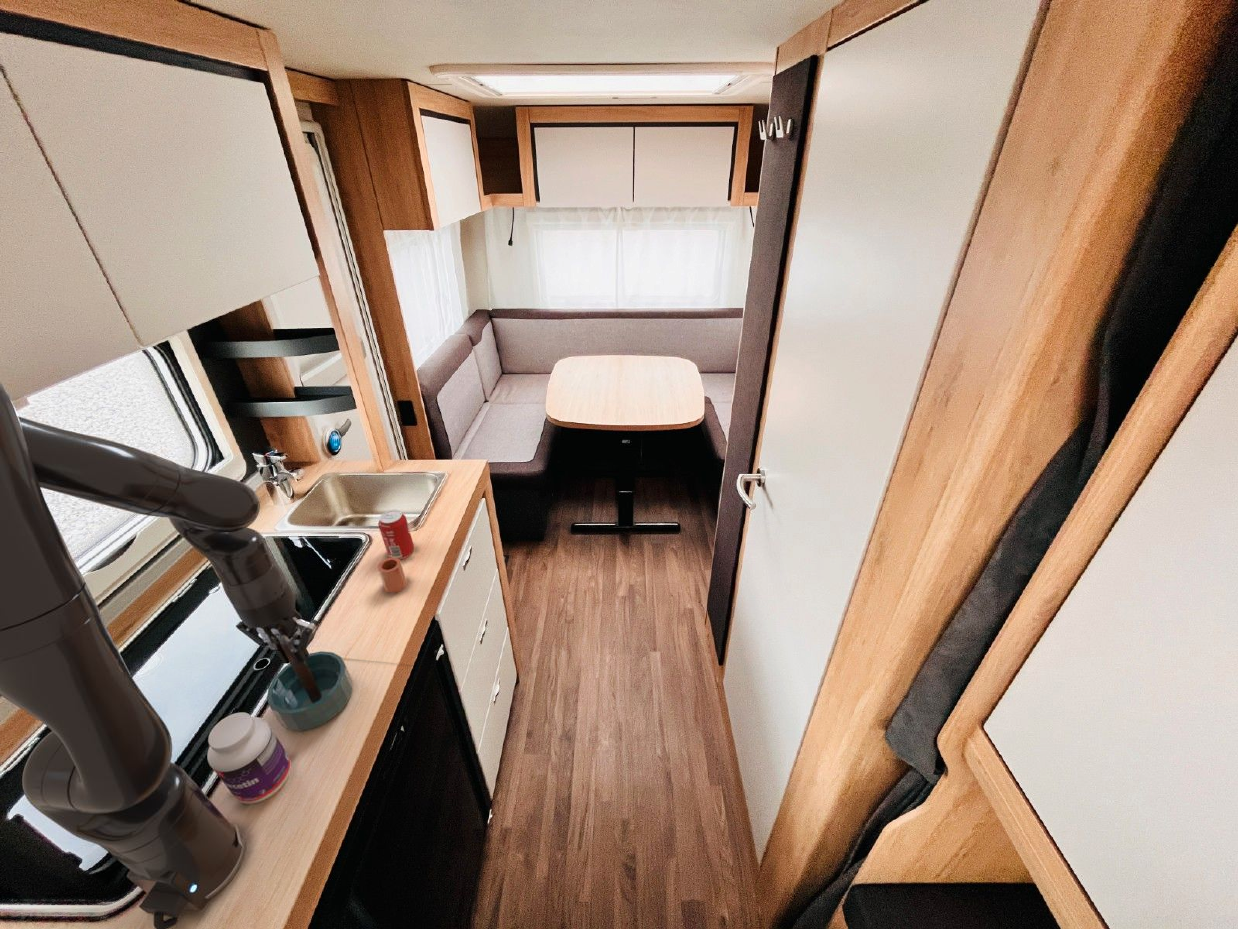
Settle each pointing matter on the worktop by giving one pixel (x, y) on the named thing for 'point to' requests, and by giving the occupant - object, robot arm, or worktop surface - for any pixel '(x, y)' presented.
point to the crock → (392, 575)
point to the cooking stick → (304, 677)
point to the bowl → (294, 701)
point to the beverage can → (396, 534)
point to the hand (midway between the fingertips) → (296, 659)
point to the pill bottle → (248, 757)
